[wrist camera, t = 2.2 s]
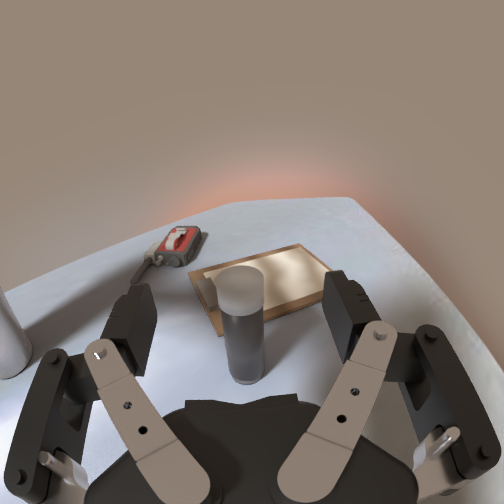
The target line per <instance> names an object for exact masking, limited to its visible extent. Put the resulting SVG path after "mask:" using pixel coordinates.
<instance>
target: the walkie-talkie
mask: <svg viewBox="0 0 504 504" xmlns="http://www.w3.org/2000/svg"><path fill="white" fill-rule="evenodd" d="M200 240H201V231H200V228H199V227H197V226H176V227H175V228H173V229H172V230H171V231H170V232H169V234H168V235H167V236H166V237H165V239H164V240H163V241H160V242H158V243H155V244H153V245H152V246H151V248H150V249H149V250H148V252H147V253H145V255H144V258H145V261H144V263H143V265H142V266H141V267H140V269H139V270H138V271H137V273H136V274H135V276H134V277H133V278H132V280H131V284H136V283H137V281H138V280H139V279H140V277H141V276H142V274H143V273H144V271H145V270H146V269H147V267H148V266H149V265H150V264H156V266H159V265H171V266H174V267H178V266H186V265H188V263H189V261H190V259H191V257H192V256H193V254H194V252H195V249H196V248H197V245H198V244H199V243H200Z"/></svg>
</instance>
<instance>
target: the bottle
mask: <svg viewBox="0 0 504 504" xmlns="http://www.w3.org/2000/svg"><path fill="white" fill-rule="evenodd" d="M216 289H217V296H218V304H219V307H220V310H221V318H222V325H223V332H224V339H225V345H226V352H227V358H228V365H229V371H230V373H231V375H232V377H233V379H234V380H235V381H236V382H238V383H239V384H243V385H251V384H254V383H256V382H258V381H259V380H260V379H261V377H262V374H263V372H264V316H263V304H264V276H263V274H262V272H261V271H260V270H258V269H256V268H254V267H251V266H244V265H239V266H232V267H229V268H226V269H224V270H222V271H221V272H220V273H219V274H218V275H217V277H216Z"/></svg>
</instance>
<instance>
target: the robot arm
mask: <svg viewBox="0 0 504 504" xmlns="http://www.w3.org/2000/svg"><path fill="white" fill-rule="evenodd" d="M322 307H323V311H324V314H325V317H326V319H327V322H328V325H329V327H330V330H331V333H332V335H333V338H334V341H335V344H336V346H337V349H338V352H339V355H340V357H341V360H342V363H343V364H345V365H344V367H343V369H342V370H341V372H340V374H339V376H338V378H337V380H336V382H335V384H334V385H333V387H332V389H331V391H330V393H329V394H328V396H327V398H326V400H325V401H324V403H323V405H322V407H320V406H318V405H315V404H312V403H309V402H304V401H298V397H297V393H295V394H287V395H278V396H269V397H266V398H262V399H259V400H256V401H252V402H249V403H245V404H233V403H227V402H221V401H216V400H185V408H181V409H178V410H175V411H173V412H171V413H169V414H167V415H165V416H164V417H161V416H160V414H159V413H158V412H157V410H156V409H155V407H154V406H153V404H152V403H151V402H150V400H149V399H148V397H147V396H146V394H145V393H144V391H143V390H142V388H141V387H140V385H139V383H138V382H137V380H136V379H135V376H144V374H145V369H146V365H147V360H148V356H149V352H150V348H151V344H152V340H153V335H154V332H155V328H156V324H157V310H156V307H155V303H154V300H153V296H152V293H151V289H150V286H149V284H148V283H145V284H132V285H131V287H130V289H129V292H128V294H127V295H122V296H121V297H120V298H119V299H118V300H117V301H116V302H115V305H114V307H113V309H112V312H111V314H110V316H109V318H108V320H107V323H106V325H105V328H104V330H103V332H102V335H101V337H100V339H98V340H96V341H93V342H92V343H90V344H89V345H88V346H87V348H86V349H85V352H84V353H82V354H78V355H73V356H68V355H67V353H66V352H65V351H64V350H63V349H59V348H57V349H52V350H50V351H48V352H47V353H46V354H45V355H44V356H43V357H42V359H41V362H40V364H39V366H38V369H37V371H36V374H35V376H34V379H33V381H32V384H31V386H30V389H29V391H28V394H27V397H26V400H25V402H24V405H23V408H22V411H21V414H20V417H19V420H18V423H17V426H16V430H15V433H14V436H13V440H12V443H11V447H10V451H9V454H8V458H7V462H6V467H5V471H4V483H5V485H6V487H7V489H8V490H9V491H10V492H11V493H12V494H13V495H15V496H17V497H19V498H21V499H22V500H24V501H25V502H27V503H28V504H417V502H419V501H422V500H425V499H427V498H430V497H432V496H435V495H437V494H439V495H442V496H447V495H450V494H452V493H454V492H456V491H458V490H459V489H461V488H463V487H464V486H466V485H467V484H469V483H471V482H472V481H474V480H475V479H477V478H478V477H480V476H481V475H483V474H484V473H486V472H487V471H488V470H490V469H491V468H493V467H494V466H495V465H496V464H497V463H498V461H499V459H500V456H501V445H500V442H499V440H498V438H497V435H496V433H495V431H494V428H493V426H492V424H491V421H490V419H489V417H488V415H487V413H486V411H485V408H484V406H483V404H482V402H481V400H480V398H479V396H478V394H477V392H476V390H475V388H474V386H473V384H472V382H471V380H470V378H469V377H468V375H467V373H466V371H465V369H464V367H463V365H462V364H461V362H460V360H459V358H458V357H457V355H456V353H455V351H454V350H453V348H452V346H451V344H450V343H449V341H448V339H447V338H446V336H445V334H444V333H443V331H442V330H440V329H439V328H438V327H436V326H433V325H422V326H420V327H419V328H418V329H417V330H416V333H415V334H409V333H399V332H397V331H396V329H395V328H394V327H393V326H392V325H391V324H389V323H387V322H384V321H382V320H381V319H380V317H379V315H378V313H377V312H376V310H375V308H374V306H373V305H372V303H371V301H369V298H368V296H367V295H366V293H365V291H364V289H363V287H362V286H361V285H360V284H358V283H357V282H356V281H354V280H348V279H347V277H346V275H345V274H344V272H343V271H342V270H338V271H327V272H326V273H325V278H324V287H323V295H322ZM31 355H32V344H31V342H30V340H29V339H28V337H27V335H26V334H25V332H24V331H23V329H22V327H21V325H20V323H19V322H18V320H17V318H16V316H15V314H14V313H13V311H12V309H11V307H10V305H9V303H8V301H7V299H6V297H5V295H4V293H3V291H2V289H1V287H0V379H7V378H11V377H13V376H15V375H17V374H18V373H19V372H21V371H22V370H23V369H24V368H25V366H26V365H27V364H28V362H29V360H30V358H31ZM383 381H389V382H398V384H399V387H400V389H401V392H402V395H403V397H404V400H405V403H406V405H407V408H408V411H409V414H410V417H411V420H412V422H413V425H414V428H415V431H416V434H417V437H418V440H419V445H418V446H417V447H416V449H415V451H414V454H413V461H414V466H413V470H411V469H410V468H409V467H408V466H407V465H406V464H404V463H403V462H401V461H400V460H398V459H396V458H395V457H393V456H392V455H390V454H389V453H387V452H386V451H384V450H383V449H381V448H380V447H378V446H377V445H375V444H374V443H372V442H371V441H369V440H368V439H366V438H365V437H364V436H362V435H361V433H362V430H363V428H364V426H365V424H366V422H367V419H368V417H369V415H370V412H371V410H372V408H373V405H374V403H375V400H376V398H377V395H378V393H379V390H380V388H381V385H382V382H383ZM97 400H102V402H103V404H104V406H105V408H106V410H107V412H108V414H109V416H110V418H111V420H112V422H113V424H114V425H115V427H116V429H117V431H118V433H119V435H120V436H121V438H122V440H123V442H124V443H125V445H126V447H127V448H128V450H127V451H126V452H125V453H124V454H123V455H122V456H121V457H120V458H119V459H118V460H116V461H115V462H114V463H113V464H112V465H111V466H110V467H109V468H108V469H107V470H105V471H104V472H103V473H102V474H101V475H100V476H99V477H98V478H97V479H95V480H94V481H93V482H92V483H91V484H90V486H89V484H88V479H87V473H86V471H85V469H84V468H83V467H82V466H81V461H82V455H83V449H84V443H85V438H86V433H87V428H88V423H89V418H90V413H91V409H92V404H93V401H97Z"/></svg>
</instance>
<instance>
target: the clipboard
mask: <svg viewBox="0 0 504 504" xmlns="http://www.w3.org/2000/svg"><path fill="white" fill-rule="evenodd" d="M239 265H244V266H251V267H254V268H256V269H258V270H260V271H261V272H262V274H263V276H264V304H263V316H264V322H266V321H269V320H271V319H274V318H277V317H280V316H283V315H286V314H288V313H291V312H294V311H297V310H299V309H302V308H305V307H307V306H310V305H313V304H315V303H318V302H321V301H322V295H323V287H324V278H325V273H326V272H327V271H333V270H332V269H330V268H329V267H328V266H327V265H325V264H324V263H323V262H322V261H320V260H319V259H318V258H317V257H316V256H314V255H313V254H312V253H311V252H309V251H308V250H307V249H306V248H304V247H303V246H302V245H301V244H295V245H291V246H287V247H283V248H280V249H276V250H272V251H268V252H264V253H261V254H257V255H253V256H249V257H245V258H242V259H238V260H234V261H230V262H226V263H222V264H219V265H215V266H211V267H207V268H203V269H199V270H196V271H192V272H188V274H189V277H190V279H191V281H192V283H193V285H194V288H195V290H196V292H197V294H198V296H199V298H200V300H201V302H202V304H203V306H204V308H205V310H206V312H207V314H208V316H209V318H210V320H211V322H212V324H213V326H214V328H215V330H216V332H217V334H218V336H219V337H220V336H223V335H224V332H223V325H222V318H221V310H220V307H219V304H218V296H217V289H216V277H217V275H218V274H219V273H220V272H221V271H222V270H224V269H226V268H229V267H232V266H239Z"/></svg>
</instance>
